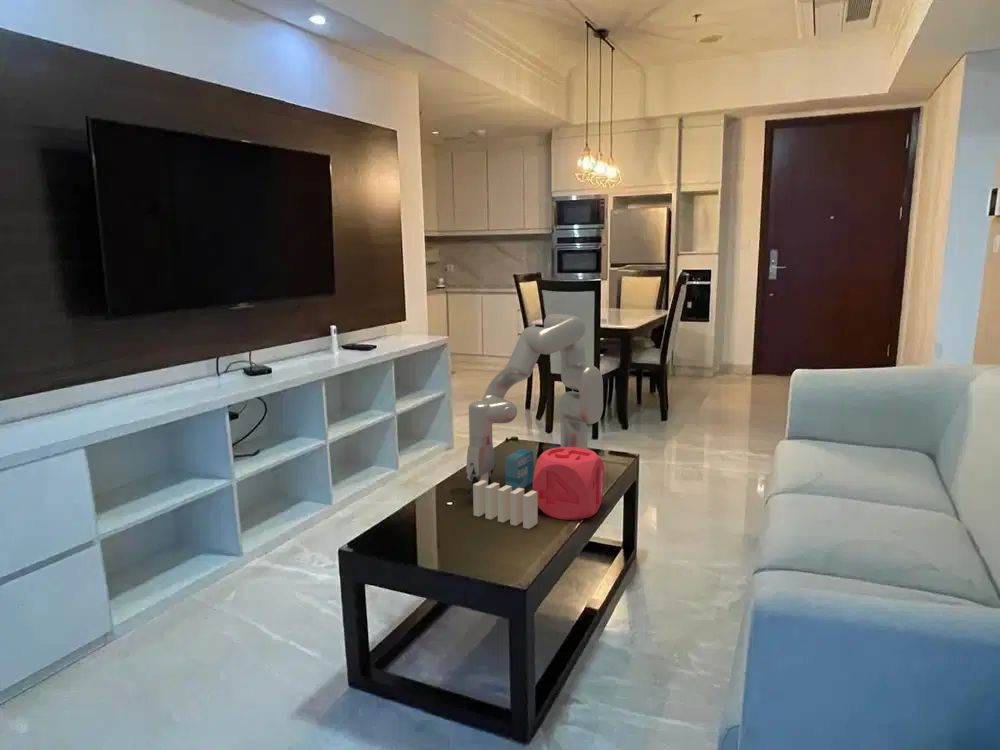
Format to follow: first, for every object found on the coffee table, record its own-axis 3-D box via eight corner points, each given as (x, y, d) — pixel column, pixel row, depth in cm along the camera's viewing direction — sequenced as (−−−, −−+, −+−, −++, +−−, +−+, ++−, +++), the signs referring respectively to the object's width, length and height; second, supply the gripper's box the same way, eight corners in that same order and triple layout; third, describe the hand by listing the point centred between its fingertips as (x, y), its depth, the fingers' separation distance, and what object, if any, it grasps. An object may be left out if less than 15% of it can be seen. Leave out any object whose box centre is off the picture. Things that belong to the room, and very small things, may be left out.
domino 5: (510, 524, 199) (509, 492, 197) (519, 518, 203) (518, 487, 201) (515, 525, 198) (515, 493, 196) (524, 520, 202) (524, 488, 200)
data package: (516, 492, 225) (516, 458, 223) (505, 490, 228) (504, 456, 226) (533, 482, 235) (533, 449, 233) (522, 480, 238) (522, 447, 236)
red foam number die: (588, 524, 198) (588, 466, 195) (532, 515, 206) (531, 459, 203) (604, 503, 214) (605, 450, 211) (552, 496, 222) (552, 444, 219)
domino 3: (485, 518, 204) (484, 487, 202) (494, 513, 208) (494, 482, 206) (490, 519, 203) (490, 488, 201) (499, 514, 207) (499, 483, 205)
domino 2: (473, 515, 206) (472, 484, 205) (482, 510, 210) (482, 479, 209) (478, 516, 205) (478, 485, 203) (488, 511, 209) (487, 481, 208)
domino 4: (497, 521, 201) (497, 489, 200) (506, 515, 206) (506, 485, 204) (503, 522, 200) (502, 491, 199) (512, 517, 204) (511, 486, 203)
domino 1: (475, 501, 218) (474, 472, 216) (483, 496, 222) (483, 467, 220) (480, 502, 217) (479, 473, 215) (488, 497, 221) (488, 468, 219)
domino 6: (523, 527, 197) (522, 495, 195) (531, 521, 201) (531, 490, 199) (528, 529, 195) (528, 496, 194) (537, 523, 200) (537, 491, 198)
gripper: (486, 432, 225) (487, 483, 228) (455, 444, 211) (457, 498, 214) (504, 435, 221) (505, 487, 224) (475, 447, 207) (476, 503, 210)
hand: (481, 492), depth 219 cm, fingers closed on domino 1, 4 cm apart
